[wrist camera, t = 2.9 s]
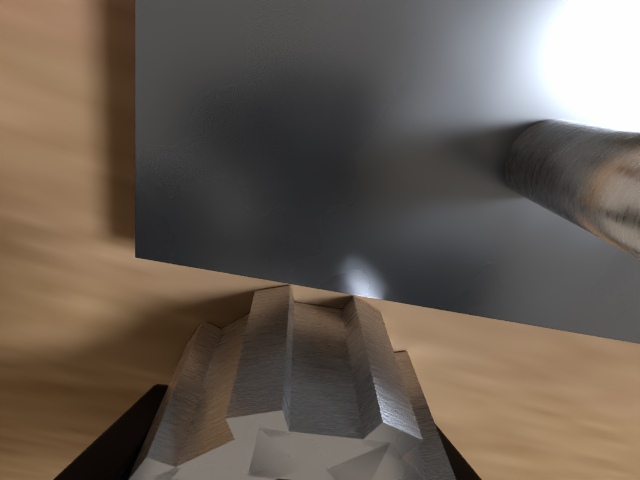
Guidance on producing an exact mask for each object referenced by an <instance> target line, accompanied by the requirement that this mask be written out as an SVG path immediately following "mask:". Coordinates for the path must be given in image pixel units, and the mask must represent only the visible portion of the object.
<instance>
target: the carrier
mask: <svg viewBox="0 0 640 480" xmlns="http://www.w3.org/2000/svg"><path fill="white" fill-rule="evenodd" d="M135 257H136V258H142V259H148V260H153V261H159V262H165V263H171V264H177V265H183V266H188V267H194V268H200V269H206V270H212V271H218V272H224V273H229V274H235V275H241V276H247V277H253V278H259V279H264V280H270V281H276V282H282V283H288V284H294V285H300V286H305V287H311V288H317V289H323V290H329V291H335V292H340V293H346V294H352V295H358V296H364V297H370V298H376V299H381V300H387V301H393V302H399V303H405V304H411V305H416V306H422V307H428V308H434V309H440V310H446V311H452V312H457V313H463V314H469V315H475V316H481V317H487V318H492V319H498V320H504V321H510V322H516V323H522V324H528V325H533V326H539V327H545V328H551V329H557V330H563V331H568V332H574V333H580V334H586V335H592V336H598V337H603V338H609V339H615V340H621V341H627V342H633V343H639V344H640V0H135Z"/></svg>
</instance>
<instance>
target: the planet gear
mask: <svg viewBox="0 0 640 480" xmlns="http://www.w3.org/2000/svg"><path fill="white" fill-rule="evenodd" d="M127 480H456V478H455V475H454V473H453V470H452V468H451V465H450V462H449V460H448V457H447V454H446V452H445V449H444V447H443V444H442V441H441V439H440V436H439V433H438V431H437V428H436V426H435V423H434V420H433V418H432V415H431V413H430V410H429V407H428V405H427V402H426V399H425V397H424V394H423V392H422V389H421V386H420V384H419V381H418V378H417V376H416V373H415V371H414V368H413V365H412V363H411V360H410V357H409V355H408V352H407V351H405V352H398V353H394V351H393V348H392V345H391V342H390V339H389V336H388V333H387V330H386V327H385V324H384V321H383V318H382V315H381V312H380V311H378V310H376V309H375V308H373V307H371V306H370V305H368V304H366V303H365V302H363V301H361V300H360V299H358V298H356V297H354V296H353V298H352V299H351V300H350V301H349V302H348V303H347V304H346V305H345V306H344V308H343V309H342V310H340V309H334V308H328V307H322V306H316V305H310V304H303V303H297V302H294V299H293V295H292V291H291V287H290V285H289V286H283V287H277V288H270V289H264V290H258V291H255V293H254V297H253V302H252V306H251V310H250V313H249V314H247V315H245V316H244V317H242V318H240V319H238V320H236V321H235V322H233V323H231V324H229V325H227V326H226V327H224V328H222V329H220V328H218V327H216V326H214V325H211V324H209V323H207V322H205V321H202V323H201V324H200V326H199V327H198V329H197V330H196V331H195V333H194V334H193V336H192V337H191V338H190V340H189V341H188V343H187V345H186V347H185V350H184V352H183V354H182V356H181V359H180V361H179V363H178V366H177V368H176V370H175V372H174V375H173V377H172V379H171V381H170V384H169V386H168V388H167V391H166V393H165V395H164V397H163V400H162V402H161V404H160V407H159V409H158V411H157V413H156V416H155V418H154V420H153V422H152V425H151V427H150V429H149V432H148V434H147V436H146V438H145V441H144V443H143V445H142V447H141V450H140V452H139V454H138V457H137V459H136V461H135V463H134V466H133V468H132V470H131V473H130V475H129V477H128V479H127Z"/></svg>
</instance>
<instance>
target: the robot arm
mask: <svg viewBox="0 0 640 480" xmlns="http://www.w3.org/2000/svg"><path fill="white" fill-rule="evenodd" d="M168 386H169V385H163V384H157V385H155V386H153V387H152V388H151V389H150V390H149V391H148V392H147V393H146V394H145V395H144V396H142V397H141V398H140V399H139V400H138V401H137V402H136V403H135V404H134V405H133V406H132V407H131V408H130V409H128V410H127V411H126V412H125V413H124V414H123V415H122V416H121V417H120V418H119V419H118V420H117V421H116V422H115V423H113V424H112V425H111V426H110V427H109V428H108V429H107V430H106V431H105V432H104V433H103V434H102V435H101V436H100V437H98V438H97V439H96V440H95V441H94V442H93V443H92V444H91V445H90V446H89V447H88V448H87V449H86V450H84V451H83V452H82V453H81V454H80V455H79V456H78V457H77V458H76V459H75V460H74V461H73V462H72V463H71V464H69V465H68V466H67V467H66V468H65V469H64V470H63V471H62V472H61V473H60V474H59V475H58V476H57V477H56V478H54V479H53V480H127V479H128V477H129V475H130V473H131V470H132V468H133V466H134V463H135V461H136V459H137V457H138V454H139V452H140V450H141V447H142V445H143V443H144V441H145V438H146V436H147V434H148V432H149V429H150V427H151V425H152V422H153V420H154V418H155V416H156V413H157V411H158V409H159V407H160V404H161V402H162V400H163V397H164V395H165V393H166V391H167V388H168ZM435 426H436V428H437V431H438V433H439V436H440V439H441V441H442V444H443V447H444V449H445V452H446V454H447V457H448V460H449V462H450V465H451V468H452V470H453V473H454V475H455V478H456V480H482V479H481V478H480V477H479V476H478V475H477V473H476V472H475V471H474V470H473V469H472V467H471V466H470V465H469V464H468V463H467V461H466V460H465V459H464V458H463V457H462V455H461V454H460V453H459V452H458V451H457V449H456V448H455V447H454V446H453V445H452V443H451V442H450V441H449V440H448V439H447V437H446V436H445V435H444V434H443V433H442V431H441V430H440V429H439V428H438V427H437V425H436V424H435Z"/></svg>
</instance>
